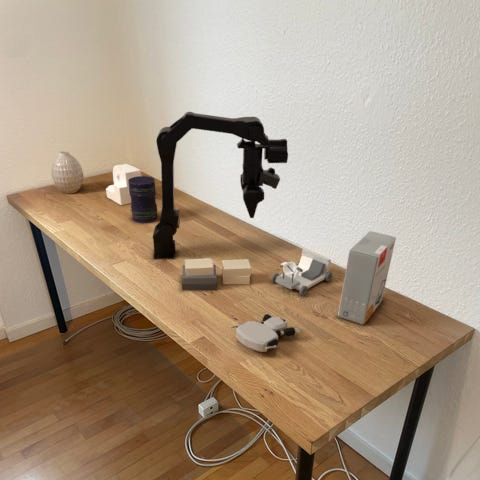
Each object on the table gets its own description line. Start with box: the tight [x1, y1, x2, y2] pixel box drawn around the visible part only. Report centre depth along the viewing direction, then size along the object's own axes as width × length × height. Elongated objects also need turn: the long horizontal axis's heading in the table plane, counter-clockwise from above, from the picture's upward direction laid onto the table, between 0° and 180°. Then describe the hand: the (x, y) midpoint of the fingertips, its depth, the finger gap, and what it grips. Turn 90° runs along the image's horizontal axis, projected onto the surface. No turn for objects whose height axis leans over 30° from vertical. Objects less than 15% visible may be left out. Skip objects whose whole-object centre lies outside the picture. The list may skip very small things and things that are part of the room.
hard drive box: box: [337, 230, 397, 326], centre depth 128 cm, size 16×8×20 cm, turn 148°
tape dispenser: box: [105, 163, 142, 206], centre depth 201 cm, size 16×10×13 cm, turn 41°
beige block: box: [221, 258, 252, 285], centre depth 145 cm, size 8×6×5 cm
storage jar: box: [128, 175, 159, 224], centre depth 181 cm, size 10×10×15 cm
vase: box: [50, 150, 84, 194], centre depth 206 cm, size 13×13×17 cm
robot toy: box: [228, 313, 301, 353], centre depth 119 cm, size 12×4×15 cm
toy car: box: [270, 248, 333, 297], centre depth 142 cm, size 18×10×12 cm
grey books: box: [181, 264, 218, 291], centre depth 143 cm, size 10×9×4 cm
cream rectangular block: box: [184, 257, 214, 277], centre depth 141 cm, size 8×6×3 cm
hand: (250, 212), depth 153 cm, fingers open, 9 cm apart
